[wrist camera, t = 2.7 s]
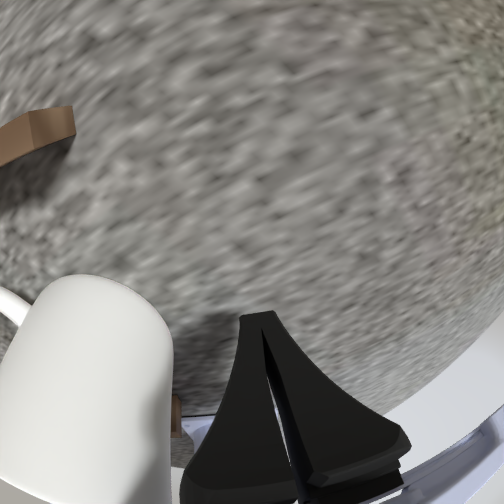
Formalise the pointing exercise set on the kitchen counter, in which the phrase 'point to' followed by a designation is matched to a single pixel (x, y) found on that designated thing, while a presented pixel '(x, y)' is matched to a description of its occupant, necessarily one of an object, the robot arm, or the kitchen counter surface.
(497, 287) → the kitchen counter surface
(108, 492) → the cup
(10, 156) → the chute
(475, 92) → the kitchen counter surface
